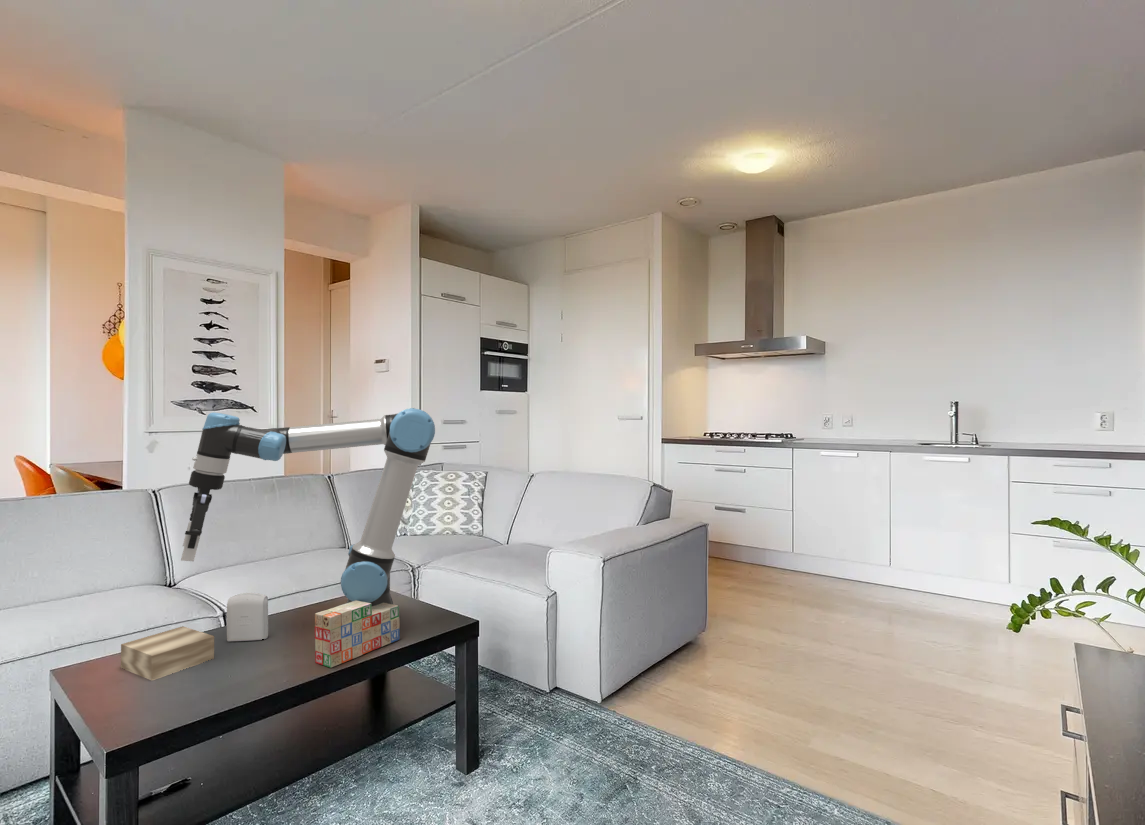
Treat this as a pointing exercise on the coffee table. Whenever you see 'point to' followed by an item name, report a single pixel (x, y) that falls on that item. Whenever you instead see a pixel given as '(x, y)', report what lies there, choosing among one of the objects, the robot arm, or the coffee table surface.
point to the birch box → (166, 652)
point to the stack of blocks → (354, 631)
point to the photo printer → (247, 617)
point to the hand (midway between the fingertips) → (187, 553)
